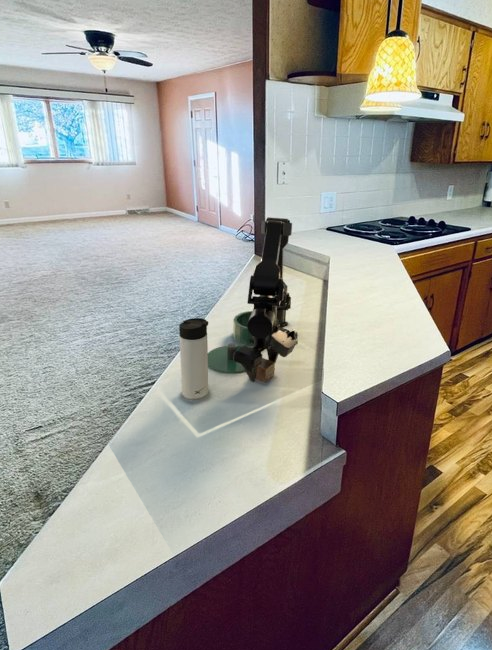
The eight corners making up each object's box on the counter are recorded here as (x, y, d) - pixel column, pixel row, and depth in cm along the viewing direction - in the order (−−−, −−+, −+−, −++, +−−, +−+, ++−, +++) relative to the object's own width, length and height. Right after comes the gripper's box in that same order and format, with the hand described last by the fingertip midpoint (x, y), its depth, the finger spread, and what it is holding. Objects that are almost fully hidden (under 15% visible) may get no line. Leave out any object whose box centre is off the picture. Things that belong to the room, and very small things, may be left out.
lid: (239, 344, 126) (239, 329, 124) (268, 364, 116) (269, 348, 114) (195, 357, 117) (195, 341, 115) (223, 381, 107) (223, 364, 105)
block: (260, 371, 112) (260, 357, 110) (274, 376, 110) (275, 362, 108) (250, 378, 108) (251, 364, 107) (265, 384, 106) (265, 369, 104)
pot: (260, 325, 139) (260, 307, 137) (286, 340, 130) (287, 322, 127) (225, 335, 131) (225, 316, 129) (250, 352, 121) (250, 333, 119)
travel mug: (203, 404, 97) (201, 328, 89) (177, 400, 98) (173, 324, 90) (213, 390, 102) (212, 317, 95) (188, 386, 104) (185, 313, 96)
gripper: (272, 343, 92) (269, 401, 97) (310, 316, 107) (306, 367, 113) (232, 329, 97) (231, 386, 102) (274, 305, 112) (271, 356, 118)
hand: (262, 373), depth 109 cm, fingers open, 9 cm apart
